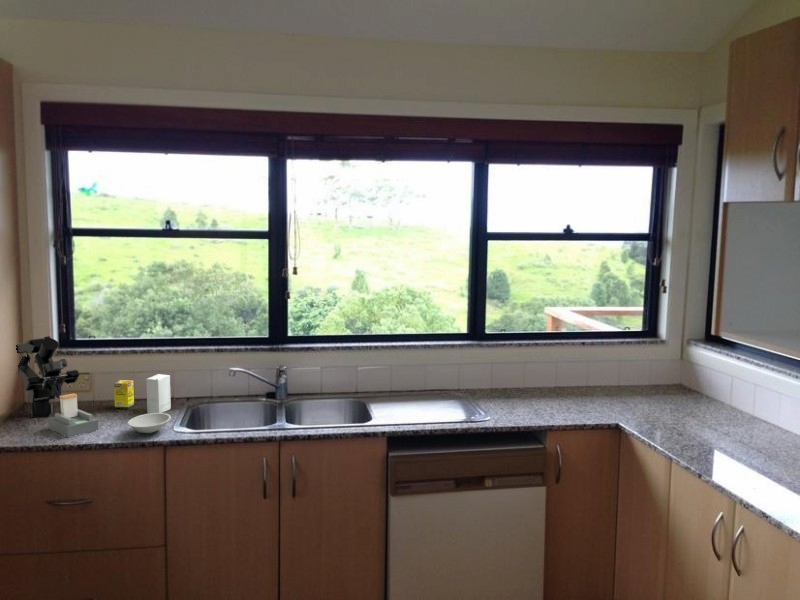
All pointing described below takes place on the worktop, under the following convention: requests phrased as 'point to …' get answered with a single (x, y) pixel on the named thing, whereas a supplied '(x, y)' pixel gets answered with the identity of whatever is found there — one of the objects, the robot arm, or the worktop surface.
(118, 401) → the supplement box
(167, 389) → the skincare box
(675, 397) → the worktop surface
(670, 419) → the worktop surface
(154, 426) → the dish
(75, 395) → the handle
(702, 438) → the worktop surface
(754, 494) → the worktop surface
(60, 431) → the grey holder base
